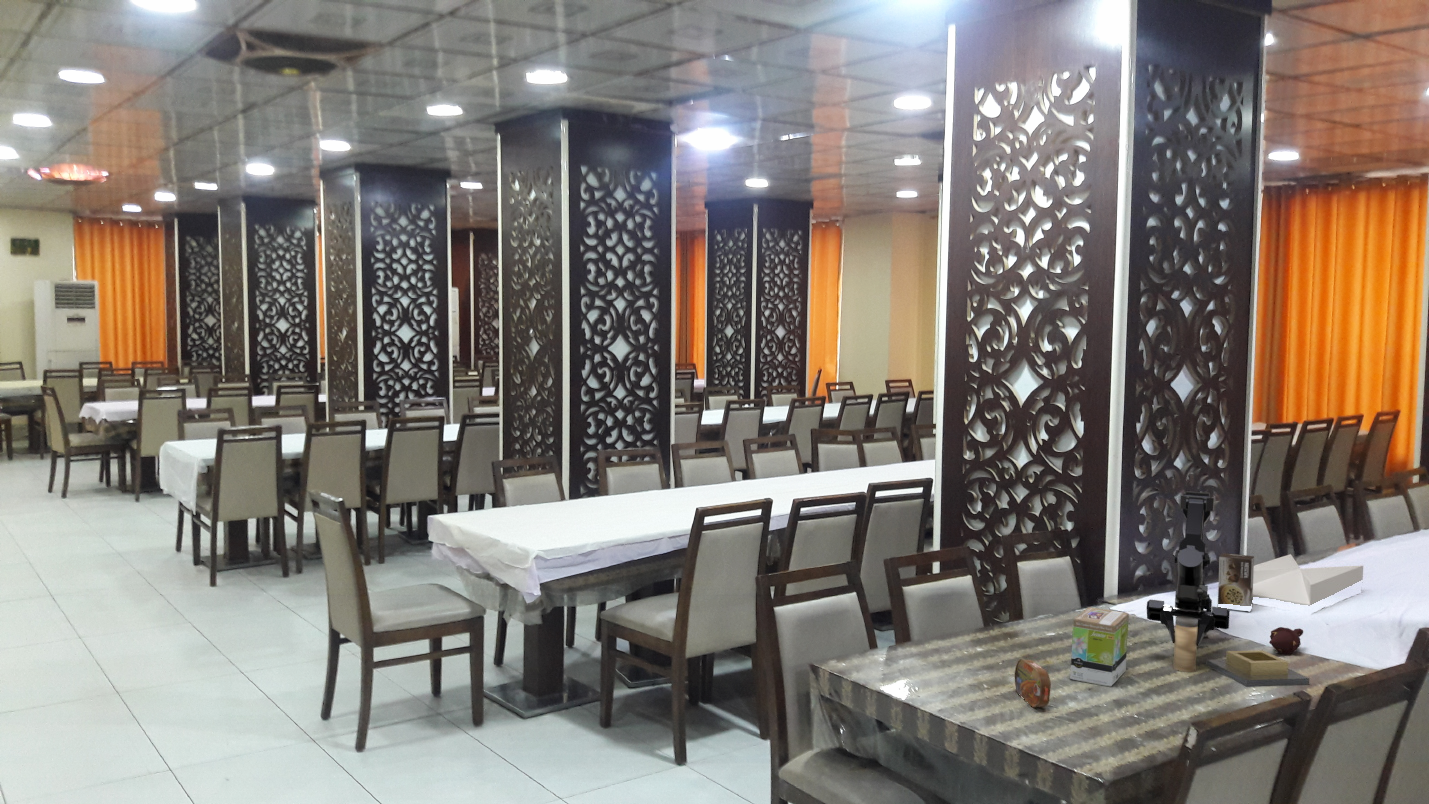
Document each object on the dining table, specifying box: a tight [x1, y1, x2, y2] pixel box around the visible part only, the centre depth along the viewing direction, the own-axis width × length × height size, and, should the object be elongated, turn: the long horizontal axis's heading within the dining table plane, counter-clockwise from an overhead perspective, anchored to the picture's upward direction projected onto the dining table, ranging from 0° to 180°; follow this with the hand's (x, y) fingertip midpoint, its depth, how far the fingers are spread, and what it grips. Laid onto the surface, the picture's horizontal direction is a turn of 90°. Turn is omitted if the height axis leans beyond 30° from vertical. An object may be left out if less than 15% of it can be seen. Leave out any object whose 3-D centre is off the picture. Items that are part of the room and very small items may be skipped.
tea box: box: [1069, 606, 1130, 687], centre depth 259 cm, size 15×10×15 cm
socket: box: [1205, 649, 1310, 687], centre depth 262 cm, size 16×16×4 cm
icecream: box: [1269, 626, 1304, 656], centre depth 281 cm, size 7×7×15 cm
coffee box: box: [1217, 552, 1255, 606], centre depth 327 cm, size 9×6×16 cm
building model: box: [1253, 553, 1364, 606], centre depth 344 cm, size 45×22×10 cm, turn 132°
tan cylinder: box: [1173, 616, 1198, 673], centre depth 266 cm, size 5×5×12 cm
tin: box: [1014, 658, 1052, 708], centre depth 240 cm, size 15×3×8 cm, turn 5°
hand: (1185, 643), depth 264 cm, fingers closed on tan cylinder, 5 cm apart
